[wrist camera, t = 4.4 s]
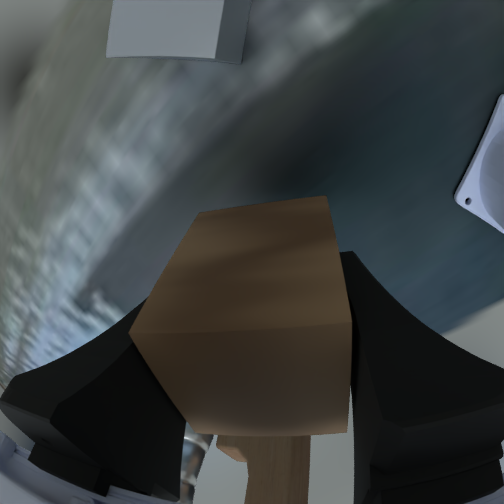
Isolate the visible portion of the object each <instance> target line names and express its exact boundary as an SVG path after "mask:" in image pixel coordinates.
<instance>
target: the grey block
mask: <svg viewBox="0 0 504 504" xmlns="http://www.w3.org/2000/svg"><path fill="white" fill-rule="evenodd" d="M251 2H252V0H114V1H113V7H112V13H111V20H110V27H109V34H108V42H107V51H106V58H152V59H178V60H198V61H212V62H223V63H233V64H241V61H242V54H243V48H244V42H245V36H246V30H247V24H248V19H249V13H250V7H251Z"/></svg>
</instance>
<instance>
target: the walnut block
mask: <svg viewBox="0 0 504 504" xmlns="http://www.w3.org/2000/svg"><path fill="white" fill-rule="evenodd" d="M128 333H129V335H130V337H131V338H132V340H133V342H134V343H135V345H136V347H137V348H138V350H139V352H140V353H141V355H142V356H143V358H144V360H145V361H146V363H147V364H148V366H149V367H150V369H151V371H152V372H153V374H154V375H155V377H156V378H157V380H158V381H159V383H160V384H161V386H162V387H163V389H164V390H165V392H166V393H167V395H168V396H169V397H170V399H171V400H172V402H173V403H174V405H175V406H176V407H177V409H178V410H179V412H180V413H181V414H182V416H183V417H184V418H185V420H186V421H187V422H188V424H189V425H190V426H191V428H192V429H193V430H194V432H195V433H202V434H215V435H232V436H305V435H322V434H335V433H346V432H347V426H348V414H349V397H350V381H351V355H352V319H351V313H350V307H349V301H348V295H347V290H346V285H345V279H344V274H343V269H342V264H341V259H340V254H339V250H338V245H337V240H336V236H335V231H334V227H333V222H332V218H331V214H330V209H329V205H328V201H327V197H326V195H325V196H316V197H308V198H300V199H292V200H284V201H276V202H269V203H262V204H254V205H247V206H240V207H233V208H227V209H220V210H214V211H207V212H201V213H199V214H198V215H197V217H196V219H195V220H194V222H193V223H192V225H191V226H190V228H189V230H188V231H187V233H186V234H185V236H184V238H183V239H182V241H181V243H180V244H179V246H178V248H177V249H176V251H175V252H174V254H173V256H172V257H171V259H170V261H169V262H168V264H167V266H166V267H165V269H164V271H163V273H162V274H161V276H160V278H159V279H158V281H157V283H156V284H155V286H154V288H153V290H152V291H151V293H150V295H149V297H148V298H147V300H146V302H145V304H144V305H143V307H142V309H141V311H140V312H139V314H138V316H137V318H136V320H135V321H134V323H133V325H132V327H131V329H130V331H129V332H128Z"/></svg>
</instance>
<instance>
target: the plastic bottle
mask: <svg viewBox="0 0 504 504" xmlns="http://www.w3.org/2000/svg"><path fill="white" fill-rule="evenodd" d="M213 436H214V434H202V433H195V432H194V430H193V429H192V428H191V426H190V425H189V424H188V422H186V429H185V436H184V443H183V453H182V464H181V481H180V500H179V501H178V502H177V503H182V504H193V498H194V493H195V486H196V482H197V477H198V474H199V472H200V469H201V466H202V463H203V460H204V457H205V454H206V453H207V451H208V449H209V447H210V445H211V442H212V440H213Z"/></svg>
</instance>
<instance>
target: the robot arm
mask: <svg viewBox="0 0 504 504" xmlns="http://www.w3.org/2000/svg"><path fill="white" fill-rule="evenodd" d="M468 197H469V200H468V202H466V203H465V200H466V199H467V198H468ZM454 199H455V201H456V202H457V203H458V204H459V205H461V206H462V207H464V208H466V209H467V210H469V211H470V212H472V213H473V214H475V215H477V216H478V217H480V218H481V219H483V220H484V221H486V222H487V223H489V224H490V225H492V226H493V227H495V228H496V229H498V230H499V231H501V232H502V233H504V94H502V95H500V97H499V99H498V102H497V104H496V107H495V109H494V112H493V114H492V117H491V119H490V121H489V124H488V126H487V128H486V131H485V133H484V135H483V138H482V140H481V142H480V144H479V146H478V148H477V151H476V153H475V155H474V157H473V159H472V161H471V163H470V165H469V167H468V169H467V171H466V173H465V175H464V177H463V179H462V181H461V183H460V185H459V187H458V189H457V190H456V192H455V195H454ZM339 254H340V259H341V264H342V269H343V274H344V279H345V285H346V290H347V295H348V301H349V307H350V313H351V319H352V355H351V381H350V386H351V394H352V408H353V427H354V504H504V473H503V474H502V471H501V466H500V461H499V459H501V458H502V457H503V449H502V445H501V442H502V441H503V440H504V369H503V368H501V367H499V366H497V365H494V364H492V363H490V362H488V361H485V360H483V359H481V358H479V357H477V356H475V355H473V354H471V353H469V352H468V351H466V350H464V349H462V348H460V347H458V346H457V345H455V344H453V343H452V342H450V341H448V340H447V339H445V338H444V337H442V336H441V335H439V334H438V333H436V332H435V331H433V330H432V329H430V328H429V327H428V326H426V325H425V324H423V323H422V322H421V321H420V320H418V319H417V318H416V317H415V316H413V315H412V314H411V313H410V312H409V311H408V310H406V309H405V308H404V307H403V306H402V305H401V304H400V303H399V302H398V301H397V300H396V299H395V298H394V297H393V296H391V295H390V293H389V292H388V291H387V290H386V289H385V288H384V287H383V286H382V285H381V284H380V283H379V282H378V281H377V280H376V279H375V277H374V276H373V275H372V274H371V273H370V272H369V270H368V269H367V268H366V267H365V266H364V264H363V263H362V262H361V260H360V259H359V258H358V256H357V255H356V254H355V253H354V252H353V251H348V252H339ZM147 298H148V297H147ZM147 298H146V299H145V300H144V301H143V302H142V303H141V304H139V305H138V306H137V307H136V308H134V309H133V310H132V311H131V312H130V313H128V314H127V315H126V316H125V317H123V318H122V319H121V320H120V321H118V322H117V323H116V324H114V325H113V326H112V327H110V328H109V329H108V330H106V331H105V332H103V333H102V334H100V335H99V336H97V337H96V338H94V339H93V340H91V341H89V342H88V343H86V344H84V345H83V346H81V347H79V348H78V349H76V350H74V351H72V352H71V353H69V354H67V355H65V356H63V357H61V358H59V359H57V360H55V361H52V362H50V363H48V364H46V365H43V366H41V367H39V368H36V369H33V370H30V371H28V372H25V373H22V374H19V375H16V376H15V377H14V378H13V379H12V380H11V381H10V383H9V385H8V386H7V388H6V389H5V391H4V393H3V394H2V396H1V398H0V409H1V411H2V412H3V413H4V414H5V416H6V417H7V418H8V419H9V420H10V421H11V422H12V423H14V424H15V425H16V426H17V427H18V428H19V429H20V430H21V431H22V432H23V433H25V434H26V435H27V436H28V437H29V438H30V439H32V440H33V441H34V442H35V445H34V447H33V449H32V451H31V452H30V451H28V450H26V449H24V448H22V447H20V446H18V445H17V444H16V443H15V442H14V441H13V440H12V439H10V438H9V437H8V436H7V435H6V434H4V433H3V432H2V431H0V504H182V503H177V502H178V501H179V500H180V481H181V464H182V453H183V443H184V436H185V429H186V422H187V421H186V420H185V418H184V417H183V416H182V414H181V413H180V412H179V410H178V409H177V407H176V406H175V405H174V403H173V402H172V400H171V399H170V397H169V396H168V395H167V393H166V392H165V390H164V389H163V387H162V386H161V384H160V383H159V381H158V380H157V378H156V377H155V375H154V374H153V372H152V371H151V369H150V367H149V366H148V364H147V363H146V361H145V360H144V358H143V356H142V355H141V353H140V352H139V350H138V348H137V347H136V345H135V343H134V342H133V340H132V338H131V337H130V335H129V333H128V332H129V331H130V329H131V327H132V325H133V323H134V321H135V320H136V318H137V316H138V314H139V312H140V311H141V309H142V307H143V305H144V304H145V302H146V300H147Z"/></svg>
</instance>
